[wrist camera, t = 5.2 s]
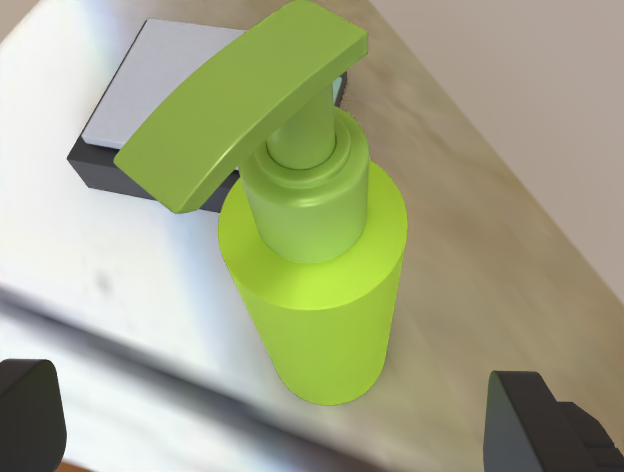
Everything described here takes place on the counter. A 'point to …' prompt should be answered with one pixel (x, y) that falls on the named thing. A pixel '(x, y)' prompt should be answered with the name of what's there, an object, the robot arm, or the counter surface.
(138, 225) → the counter surface
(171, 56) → the kitchen scale
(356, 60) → the soap dispenser
